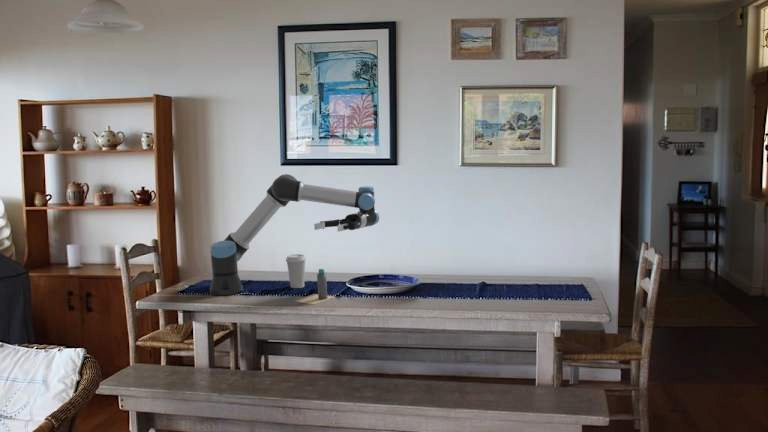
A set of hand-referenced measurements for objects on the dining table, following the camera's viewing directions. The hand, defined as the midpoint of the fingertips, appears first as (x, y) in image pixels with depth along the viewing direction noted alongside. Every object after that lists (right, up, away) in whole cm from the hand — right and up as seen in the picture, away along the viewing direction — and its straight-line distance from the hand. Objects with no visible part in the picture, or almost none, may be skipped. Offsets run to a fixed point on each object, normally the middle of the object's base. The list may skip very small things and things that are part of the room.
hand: (326, 227), depth 305 cm
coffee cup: (-15, -29, +18) cm, 37 cm away
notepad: (-4, -31, -8) cm, 33 cm away
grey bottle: (-1, -31, -8) cm, 32 cm away
